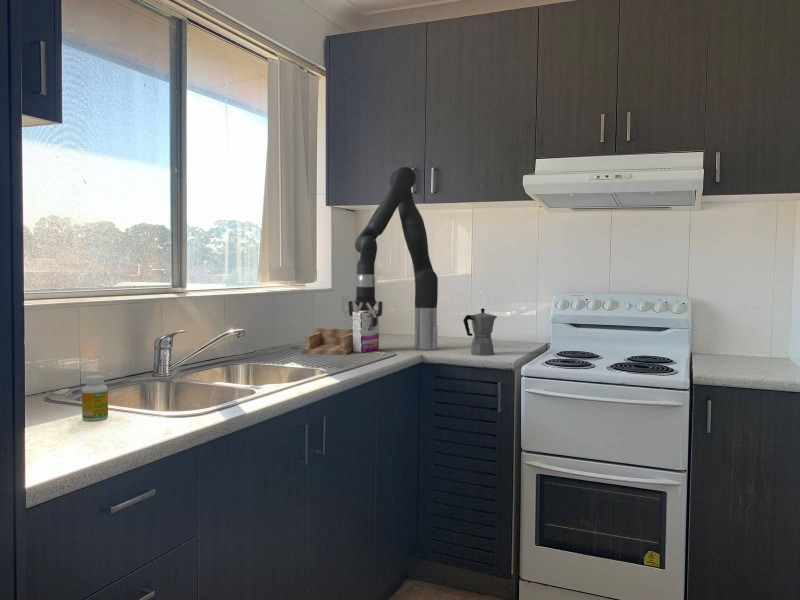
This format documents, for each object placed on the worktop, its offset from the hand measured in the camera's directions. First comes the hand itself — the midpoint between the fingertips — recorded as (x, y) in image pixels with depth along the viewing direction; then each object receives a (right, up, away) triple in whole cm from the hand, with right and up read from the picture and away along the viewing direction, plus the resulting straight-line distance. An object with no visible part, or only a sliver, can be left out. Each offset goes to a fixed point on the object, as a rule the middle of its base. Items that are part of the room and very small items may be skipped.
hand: (365, 326), depth 271 cm
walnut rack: (-14, -10, 0) cm, 17 cm away
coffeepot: (+45, -11, -7) cm, 47 cm away
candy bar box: (0, -10, +1) cm, 10 cm away
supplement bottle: (-56, -17, -118) cm, 131 cm away
